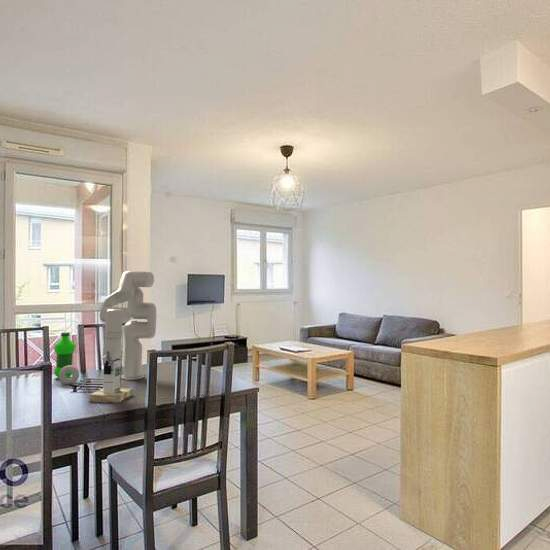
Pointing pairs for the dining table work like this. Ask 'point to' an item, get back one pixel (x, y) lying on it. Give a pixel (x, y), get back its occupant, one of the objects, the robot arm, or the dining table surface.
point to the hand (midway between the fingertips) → (112, 371)
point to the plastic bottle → (64, 353)
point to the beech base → (110, 395)
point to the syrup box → (112, 378)
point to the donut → (64, 378)
